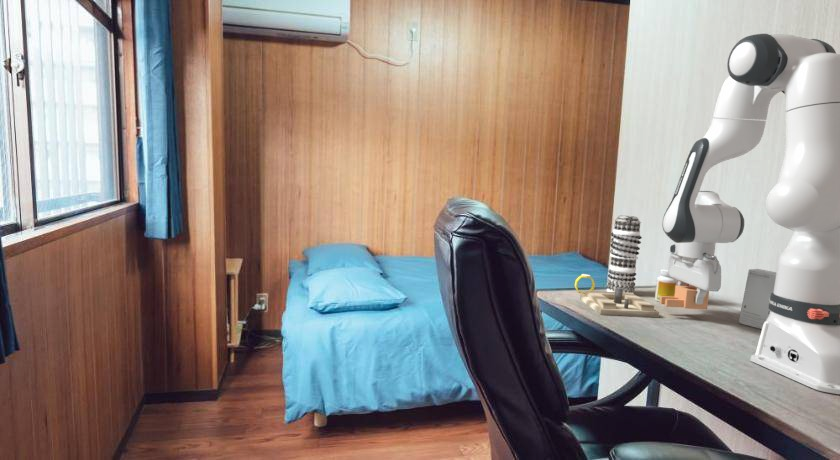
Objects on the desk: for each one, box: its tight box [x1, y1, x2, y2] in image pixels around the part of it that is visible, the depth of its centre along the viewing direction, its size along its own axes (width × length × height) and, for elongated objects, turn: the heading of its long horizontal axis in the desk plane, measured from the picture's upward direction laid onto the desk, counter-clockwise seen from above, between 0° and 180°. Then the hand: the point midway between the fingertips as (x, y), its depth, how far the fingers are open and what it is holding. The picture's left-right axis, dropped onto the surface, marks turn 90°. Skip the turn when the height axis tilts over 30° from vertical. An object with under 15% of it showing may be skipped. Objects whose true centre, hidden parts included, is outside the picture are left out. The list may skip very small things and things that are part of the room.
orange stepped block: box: [659, 285, 710, 310], centre depth 138 cm, size 10×6×5 cm, turn 90°
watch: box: [574, 273, 596, 294], centre depth 159 cm, size 6×3×6 cm, turn 90°
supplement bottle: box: [654, 268, 676, 303], centre depth 154 cm, size 5×5×10 cm
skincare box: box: [738, 268, 777, 330], centre depth 131 cm, size 8×6×15 cm
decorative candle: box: [605, 215, 643, 295], centre depth 162 cm, size 9×9×25 cm
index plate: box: [579, 288, 660, 318], centre depth 143 cm, size 16×16×6 cm
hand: (690, 300), depth 138 cm, fingers closed on orange stepped block, 6 cm apart
